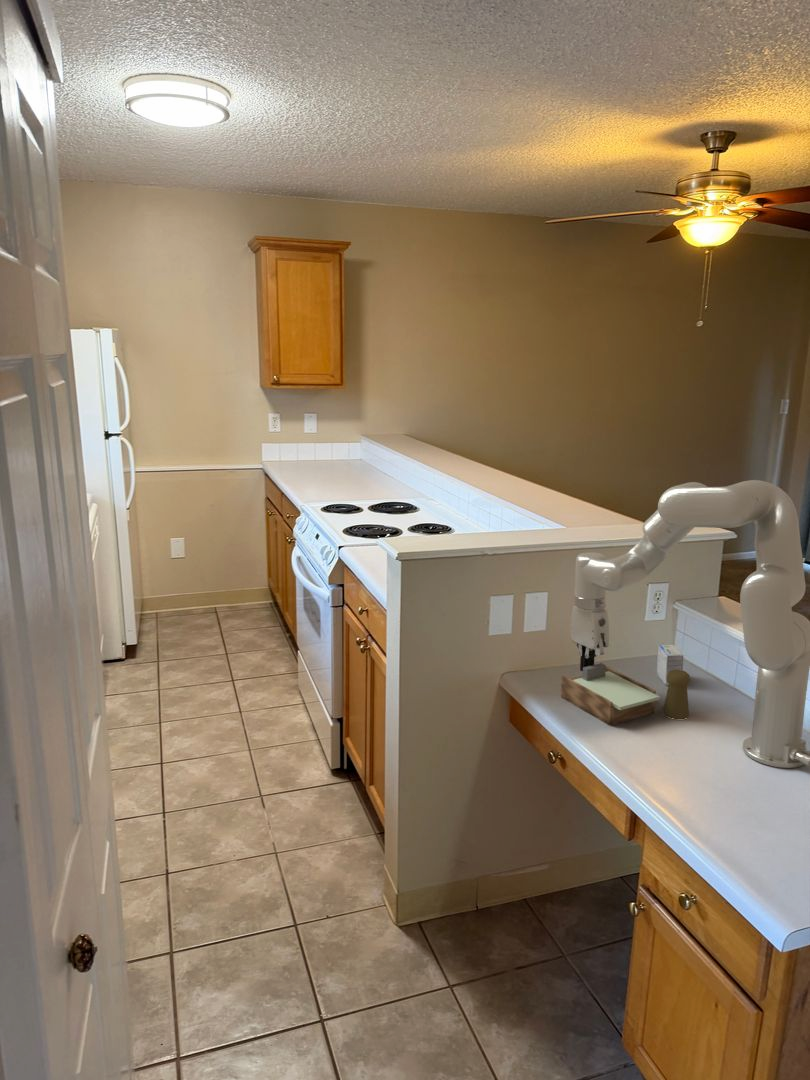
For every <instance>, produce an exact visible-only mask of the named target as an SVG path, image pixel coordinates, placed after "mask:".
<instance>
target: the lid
mask: <svg viewBox="0 0 810 1080" xmlns="http://www.w3.org/2000/svg"><path fill="white" fill-rule="evenodd" d="M606 667H607V665H606V664H604V663H601V662H600V663H596V664H594V665H592V666H587V667H583V671H582V676H583V678H579V679H575V680H573V681H575V682H577V683H579V684H580V685H582V686H584V687H586V688H588V689H590V690H591V691H593V692H595V693H597V694H599V695H601V696H602V697H604V698H606V699H608V700H610V701H611V702H612V706H613V707H615V708H617V709H619V710H623V709H627V708H631V707H634V706H638V705H642V704H646V703H649V702H653V701H655V702H656V701H660V700H661V699H660V698H661V696H659V695H658V694H656V693H655V694H654V693H652V692H650V691H648V690H646V689H644V688H642V687H640V686H638V685H636V684H634V683H632V682H630V681H628V680H626V679H624V678H622V677H620V676H618V675H616V674H614V673H612V672H610V671H608V672H606Z"/></svg>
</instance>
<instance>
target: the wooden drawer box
mask: <svg viewBox="0 0 810 1080" xmlns="http://www.w3.org/2000/svg"><path fill="white" fill-rule="evenodd" d="M608 671H610V672H612V673H614V674H616V675H618V676H620V677H622V678H624V679H626V680H628V681H630V682H632V683H634V684H636V685H638V686H640V687H642V688H644V689H646V690H648V691H650V692H652V693H654V694H656V690H655V689H653V688H651V687H650V686H647V685H645V684H643V683H641V682H640V681H636V680H635V679H633V678H630V677H628V676H627V675H625V674H622V673H621V672H618V671H617V670H614V669H613V668H610V667H609V666H606V672H608ZM579 678H583V675H581V676H577V677H573V678H569V677H568V676H566V675H564V674H563V675H561V685H560V686H561V688H560V689H561V693H560V697H561V698H562V699H564V700H566V701H567V702H569V703H570V704H572V705H573V706H575V707H577V708H579V709H581V710H582V711H584V712H585V713H587V714H589V715H590V716H592V717H594V718H595V719H597V720H599V721H601V722H603V723H604V724H606V725H608V726H613V725H616V724H620V723H623V722H627V721H631V720H634V719H637V718H641V717H646V716H648V715H652V713H653V714H655V707H656V701H653V702H649V703H646V704H642V705H638V706H634V707H631V708H627V709H623V710H619V709H617V708H615V707H613V706H612V702H611V701H610V700H608V699H606V698H604V697H602V696H601V695H599V694H597V693H595V692H593V691H591V690H590V689H588V688H586V687H584V686H582V685H580V684H579V683H577V682H575V681H573V680H575V679H579Z"/></svg>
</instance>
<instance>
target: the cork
mask: <svg viewBox="0 0 810 1080" xmlns="http://www.w3.org/2000/svg"><path fill="white" fill-rule="evenodd" d="M690 681H691V677H690V674H689V672H687V671H685V670H683V671H682V670H672V671H670V672H669V673H668V675H667V682H668V683H669V686H668V688H667V691H666V696H665V700H664V705H663V711H662V715H663V714H664V715H665V716H664V715H663V716H664V717H666V716H668V717H670V718H674V719H685V718H688V717H689V718H690V710H689V709H690V708H689V697H688V696H689V695H688V686H689V685H690ZM668 717H667V718H668ZM670 718H669V719H670ZM689 718H688V719H689ZM674 719H673V720H674ZM685 720H686V719H685Z"/></svg>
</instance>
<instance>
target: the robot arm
mask: <svg viewBox="0 0 810 1080" xmlns="http://www.w3.org/2000/svg"><path fill="white" fill-rule="evenodd" d="M797 512H798V511H797V509H796V505H795V504H794V502H793V500H792V499H791V496H789V495H788V493H787V492H785V491H784V490H783V489H782V488H780V487H779V486H777V485H775V484H774V483H770V482H767V481H765V480H759V479H758V480H757V479H753V480H752V479H750V480H744V481H741V482H737V483H734V484H731V485H730V484H729V485H727V486H707V485H705V484H703V483H700V482H696V481H692V482H686V483H683V484H682V483H680V484H678V485H674V486H671V487H670V488H668V489H666V490H665V491H664V492H663V493H662V494H661V496H660V497H659V500H658V502H657V509H656V510H655V511H654V513H652V514H651V515H650V516H649V518H647V519H646V520H645V521H644V523H643V524H642V532H643V536H642V537H641V538H640V540H639V541H638V542H637V543H636V544H635V545H634V546H633V547H632V548H631V549H630V550H628V551H627V552H626V553H624V554H622V555H620V556H617V557H614V558H609V559H607V557H606V556H605V555H604V554H602V553H599V552H593V551H592V552H588V551H587V552H582V553H580V554H578V555H577V556H576V558H575V572H574V573H575V576H574V599H573V600H574V603H573V606H572V611H571V612H572V613H571V617H570V619H571V620H570V628H569V629H570V630H569V631H570V634H569V635H570V639H572V643H573V644H574V645H576V647H577V649H578V654H579V656H580V659H579V660H580V663H579V669H580V670H579V671H580V672H583V667H587V666H592V665H595V658H597V656H602V655H605V650H604V648H608V647H609V645H610V624H609V623H610V622H609V615H608V610H607V609H606V606H607V605H606V597H607V595H606V594H607V593H606V592H607V591H609V592H618V591H621V590H623V589H626V588H628V587H630V586H633V585H635V584H638V583H639V582H641V581H642V580H644V579H645V578H647V576H648V575H650V574H651V573H652V572H653V571H654V570H656V568H658V566H660V565H661V564H662V563H663V561H664V560H665V559H666V558H667V556H668V555H669V554H671V551H672V550H673V548H674V547H675V546H677V545H678V544H679V542H680V541H682V540H683V539H684V538H685V537H686V536H687V535H688V534H689V533H691V531H692V530H694V529H695V528H711V529H712V528H713V529H727V528H728V529H730V528H738V527H741V526H742V527H743V526H744V525H747V524H750V523H752V522H753V523H754V525H755V535H754V536H755V537H754V550H755V558H756V570H755V571H753V572H752V573H750V574H749V575H748V576H747V577H746V578H745V580H744V581H743V582H742V584H741V589H740V593H739V597H740V598H739V599H740V601H739V603H740V612H741V614H740V615H741V624H742V633H743V642H744V647H745V651H746V653H747V655H748V657H749V659H751V661H752V662H753V663H754V664H755V665H756V666H757V667H758V669H757V675H756V676H757V678H756V685H755V695H754V705H753V706H754V707H753V715H752V717H753V719H752V726H751V736H750V737H747V738H746V739H744V740H743V742H742V750H743V752H744V753H745V755H747V756H748V757H749V758H750V759H753V760H754V761H756V762H758V763H760V764H763V765H766V766H770V767H775V768H783V769H792V768H793V769H795V768H798V767H801V766H804V765H806V766H808V767H810V750H808V749H807V746H806V745H807V741H806V740H804V739H802V735H803V728H804V727H803V726H804V718H805V710H806V709H805V708H806V701H807V700H806V698H807V691H808V683H809V676H810V675H809V674H810V620H809V619H808V618H807V616H804V615H803V614H801V613H799V612H795V611H793V609H792V607H794V606H795V605H796V604H798V603H799V602H800V601H801V600H802V599H803V597H804V595H805V594H806V593H805V592H806V588H807V587H806V578H805V570H804V569H805V568H804V559H803V558H804V557H803V552H802V551H803V550H802V543H801V534H800V524H799V523H800V522H799V516H798V513H797Z"/></svg>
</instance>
